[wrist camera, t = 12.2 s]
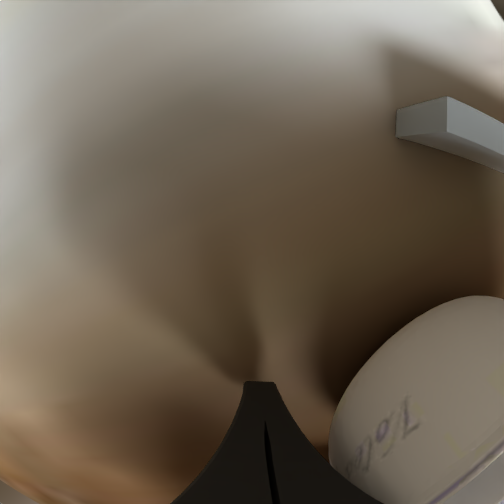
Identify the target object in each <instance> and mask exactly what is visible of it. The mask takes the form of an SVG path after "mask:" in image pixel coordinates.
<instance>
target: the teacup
mask: <svg viewBox="0 0 504 504" xmlns="http://www.w3.org/2000/svg"><path fill="white" fill-rule="evenodd" d="M328 445H329V461H330V465H331V466H332V467H333V468H334V469H335V470H336V471H338V472H339V473H340V474H341V475H342V476H344V477H345V478H346V479H347V480H348V481H350V482H351V483H352V484H353V485H355V486H356V487H358V488H359V489H361V490H362V491H363V492H365V493H366V494H368V495H370V496H371V497H373V498H375V499H376V500H378V501H380V502H382V503H384V504H498V503H500V502H501V501H502V500H503V499H504V299H501V298H497V297H491V296H476V295H475V296H467V297H462V298H458V299H454V300H451V301H449V302H446V303H443V304H441V305H439V306H437V307H434V308H432V309H431V310H429V311H427V312H426V313H424V314H422V315H420V316H418V317H417V318H415V319H414V320H413V321H411V322H410V323H408V324H407V325H405V326H404V327H403V328H402V329H400V330H399V331H398V332H397V333H395V334H394V335H393V336H392V337H391V338H390V339H388V340H387V341H386V342H385V343H384V344H383V345H382V346H381V347H380V348H379V349H378V350H377V351H376V352H375V353H374V354H373V355H372V356H371V357H370V359H369V360H368V361H367V362H366V363H365V364H364V366H363V367H362V368H361V369H360V370H359V372H358V373H357V374H356V376H355V377H354V378H353V380H352V381H351V383H350V384H349V386H348V387H347V389H346V391H345V393H344V394H343V396H342V398H341V400H340V402H339V404H338V406H337V409H336V411H335V414H334V417H333V420H332V423H331V427H330V433H329V442H328Z"/></svg>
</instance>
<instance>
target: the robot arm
mask: <svg viewBox="0 0 504 504" xmlns="http://www.w3.org/2000/svg"><path fill="white" fill-rule="evenodd" d="M0 504H1V503H0ZM170 504H384V503H382V502H380V501H378V500H376V499H375V498H373V497H371V496H370V495H368V494H366V493H365V492H363V491H362V490H361V489H359V488H358V487H356V486H355V485H353V484H352V483H351V482H350V481H348V480H347V479H346V478H345V477H344V476H342V475H341V474H340V473H339V472H338V471H336V470H335V469H334V468H333V467H332V466H331V465H330V464H329V463H328V462H327V461H326V460H325V459H324V458H323V457H322V456H321V455H320V454H319V453H318V451H317V450H316V449H315V448H314V447H313V446H312V444H311V443H310V442H309V441H308V439H307V438H306V437H305V435H304V434H303V433H302V431H301V430H300V428H299V427H298V425H297V424H296V422H295V421H294V419H293V417H292V416H291V414H290V413H289V411H288V409H287V407H286V405H285V404H284V402H283V400H282V398H281V396H280V394H279V391H278V389H277V386H276V384H275V383H274V382H256V381H246V382H245V383H244V386H243V394H242V398H241V401H240V404H239V407H238V410H237V412H236V415H235V417H234V420H233V422H232V424H231V426H230V428H229V430H228V432H227V434H226V436H225V438H224V439H223V441H222V443H221V444H220V446H219V448H218V449H217V451H216V452H215V454H214V455H213V457H212V458H211V460H210V461H209V462H208V464H207V465H206V466H205V468H204V469H203V470H202V471H201V473H200V474H199V475H198V476H197V477H196V479H195V480H194V481H193V482H192V483H191V484H190V485H189V486H188V487H187V488H186V489H185V490H184V491H183V492H182V493H181V494H180V495H179V496H178V497H177V498H176V499H175V500H174V501H173V502H172V503H170ZM498 504H504V500H503V501H501V502H500V503H498Z"/></svg>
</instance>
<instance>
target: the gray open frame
mask: <svg viewBox="0 0 504 504" xmlns="http://www.w3.org/2000/svg"><path fill="white" fill-rule="evenodd" d="M395 137H397V138H401V139H404V140H408V141H412V142H415V143H419V144H422V145H426V146H429V147H432V148H436V149H439V150H442V151H445V152H448V153H451V154H454V155H457V156H460V157H463V158H466V159H468V160H471V161H474V162H476V163H479V164H482V165H484V166H487V167H489V168H492V169H494V170H497V171H499V172H501V173H504V124H503V123H501V122H500V121H498V120H496V119H494V118H492V117H490V116H488V115H487V114H485V113H483V112H481V111H479V110H477V109H475V108H473V107H471V106H468V105H466V104H464V103H462V102H460V101H458V100H455V99H453V98H451V97H448V96H445V97H441V98H437V99H433V100H430V101H426V102H422V103H419V104H415V105H412V106H408V107H405V108H402V109H398V110H397V117H396V135H395Z"/></svg>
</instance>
